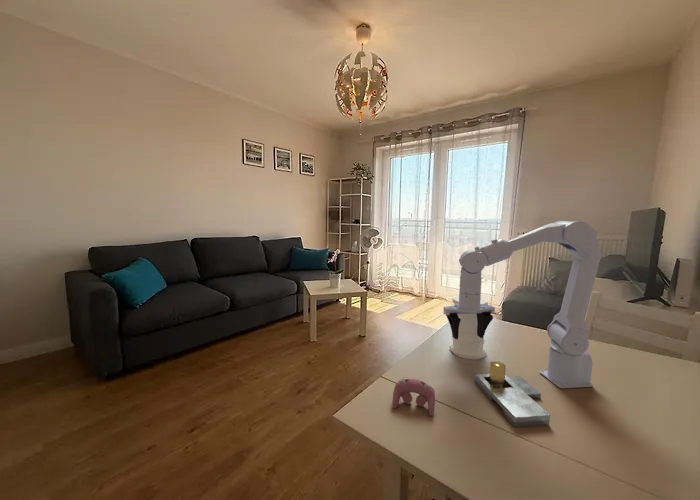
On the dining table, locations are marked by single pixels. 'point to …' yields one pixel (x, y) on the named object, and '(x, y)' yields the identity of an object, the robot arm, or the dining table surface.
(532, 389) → the lower link
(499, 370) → the pin
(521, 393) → the upper link
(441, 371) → the dining table surface
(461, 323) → the decorative container
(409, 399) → the video game controller
